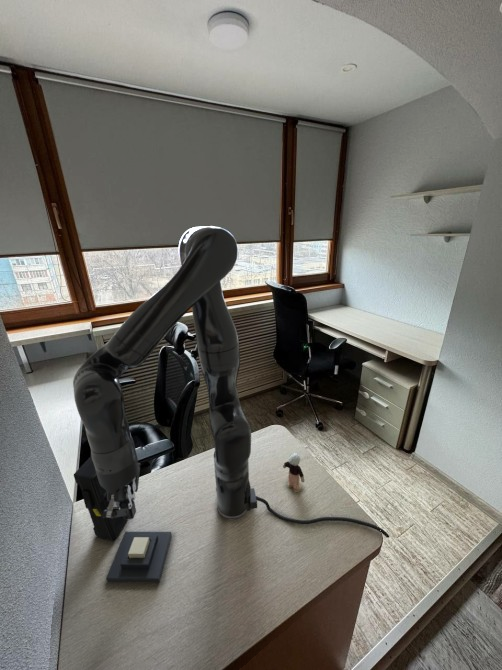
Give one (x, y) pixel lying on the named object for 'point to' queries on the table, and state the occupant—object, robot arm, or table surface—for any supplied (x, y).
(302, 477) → the grandmother figurine
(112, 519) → the portable radio
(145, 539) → the key
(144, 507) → the table surface
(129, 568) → the push button
